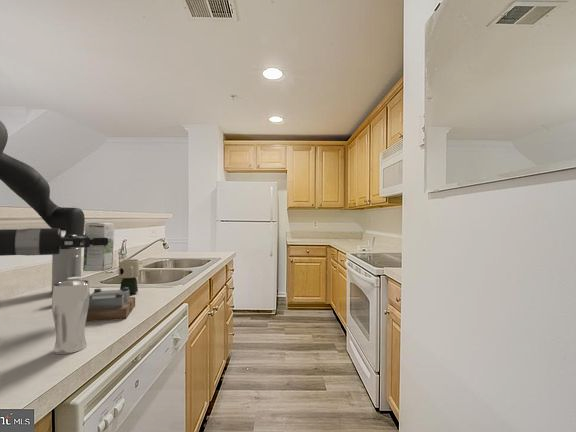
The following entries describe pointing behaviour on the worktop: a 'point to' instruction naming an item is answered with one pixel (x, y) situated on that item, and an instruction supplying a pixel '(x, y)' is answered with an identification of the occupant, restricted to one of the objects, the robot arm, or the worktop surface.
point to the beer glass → (70, 315)
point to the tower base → (111, 312)
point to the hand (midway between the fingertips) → (107, 240)
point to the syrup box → (99, 247)
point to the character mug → (129, 274)
